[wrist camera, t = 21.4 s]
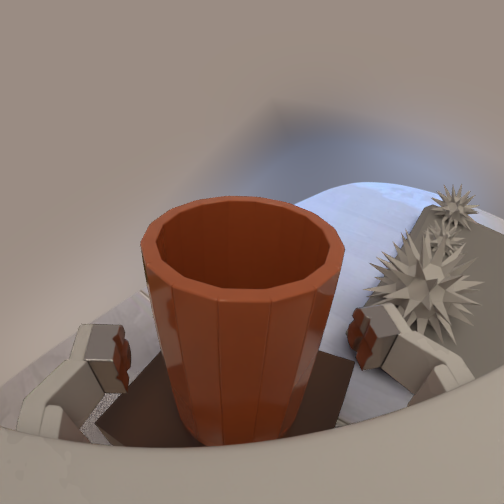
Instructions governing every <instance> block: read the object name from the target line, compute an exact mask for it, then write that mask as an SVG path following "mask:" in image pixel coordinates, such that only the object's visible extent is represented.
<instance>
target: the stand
mask: <svg viewBox="0 0 504 504" xmlns="http://www.w3.org/2000/svg"><path fill="white" fill-rule="evenodd" d="M354 364H355V362H354V361H351V360H348V359H345V358H341V357H338V356H335V355H332V354H329V353H325V352H322V351H319V350H318V353H317V356H316V359H315V362H314V365H313V368H312V371H311V374H310V377H309V380H308V383H307V386H306V389H305V392H304V395H303V398H302V401H301V404H300V406H299V409H298V412H297V415H296V417H295V420H294V422H293V424H292V426H291V427H290V429H289V430H288V432H287V433H286V434H285V435H284V436H283V437H282V438H288V437H293V436H299V435H304V434H310V433H315V432H319V431H324V430H328V429H333V428H334V427H335V424H336V422H337V419H338V416H339V413H340V410H341V407H342V404H343V401H344V398H345V395H346V391H347V388H348V385H349V382H350V378H351V375H352V371H353V368H354ZM95 425H96V426H97V427H98V428H99V430H100V431H101V432H102V434H103V435H104V436H105V437H106V439H107V440H108V441H109V442H110V443H111V445H113V446H125V447H149V448H184V447H208V446H206V445H204V444H202V443H201V442H199V441H198V440H196V439H195V438H194V437H193V436H192V435H191V434H190V433H189V432H188V431H187V430H186V428H185V427H184V425H183V423H182V421H181V419H180V417H179V413H178V410H177V407H176V404H175V401H174V398H173V395H172V391H171V387H170V384H169V380H168V376H167V373H166V369H165V365H164V361H163V357H162V353H161V351H160V352H159V354H158V355H157V356H156V357H155V358H154V359H153V360H152V361H151V362H150V363H149V364H148V366H147V367H146V368H145V369H144V370H143V371H142V372H141V373H140V374H139V375H138V376H137V378H136V379H135V380H134V381H133V382H132V383H131V384H130V385H129V386H128V393H122V394H121V395H120V396H119V397H118V398H117V399H116V400H115V402H114V403H113V404H112V405H111V406H110V407H109V408H108V409H107V410H106V411H105V412H104V414H103V415H102V416H101V417H100V418H99V419H98V420H97V421H96V422H95ZM282 438H281V439H282Z"/></svg>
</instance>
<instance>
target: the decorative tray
mask: <svg viewBox="0 0 504 504" xmlns="http://www.w3.org/2000/svg"><path fill="white" fill-rule="evenodd" d="M444 188H445V191H446V195H447V197H446V196H444V195H442V194H441V193H440V192H439V191H438V192H439V193H438V194H439V196H440V197H441V198H442V200H443V201H444V202H443V201H440V200H438V199H435V198H433V200H434V201H435V202H437V203H438V204H439V205H440V206H442V207H438V206H435V205H430V206H428V207H425V208H424V209H423V211H422V213H421V215H420V216H419V218H418V220H417V222H416V224H415V225H414V227H413V229H412V231H411V232H410V234H408V232H407V231H406V234H407V239H406V240H405V238H404V236H403V235H402V238H403V242H404V244H403V246H402V248H401V249H400V248H399V247H398V246H397V245H396V244H395V243H394V242H393V244H394V246H395V248H396V250H397V253H398V254H397V256H396V258H393V257H391V256H389V255H387V254H386V253H384V252H382V251H381V252H382V253H383V254H384V255H385V256H386V257H387V258H388V260H389V261H390V262H391V263H389V262H387V261H385V260H382V259H380V258H378V259H379V260H380V261H381V262H382V263H383V264H384V265H385V266H386V267H387V268H388V269H385V268H382V267H379V266H376V265H373V264H371V263H370V264H371V265H372V266H374V267H375V268H376V269H378V270H379V271H380V272H382V273H383V274H384V277H383V278H381V277H375V278H377V279H379V280H381V281H380V283H379V284H378V286H377V287H374V288H368V289H363V290H369V291H374V292H373V294H372V295H371V296H367V297H370V298H369V300H368V301H367V302H366V304H365V305H364V307H367V306H374V305H380V304H386V303H392V304H394V305H395V307H396V308H397V310H398V311H399V313H400V314H401V315H402V317H403V318H404V320H405V321H406V323H407V324H408V326H409V327H410V329H411V330H412V331H417V332H419V333H420V334H422V335H424V336H426V337H427V338H429V339H431V340H433V341H434V342H436V343H438V344H440V345H441V346H443V347H445V348H446V349H448V350H450V351H452V352H453V353H455V354H457V355H459V356H460V357H461V358H462V359H463V361H464V362H465V364H466V365H467V367H468V368H469V370H470V371H471V373H472V374H473V376H474V377H475V379H476V378H478V377H481V376H483V375H485V374H487V373H489V372H491V371H492V370H494V369H496V368H498V367H500V366H502V365H504V235H503V234H501V233H499V232H496V231H494V230H492V229H490V228H488V227H485V226H483V225H481V224H479V223H477V222H475V221H474V220H473V219H472V218H471V217H470V216H468V215H467V214H477V212H478V211H473V210H474V209H471V208H474V207H477V205H467V204H468V203H469V202H470V200H471V199H472V198H473V197H474V196H472V197H471V198H469V199H467V198H468V197H467V196H468V194H469V193H470V192H469V191H468V192H467V193H466V194H465V195H464V196H463V197H462V198H461V189H462V185H461V186H460V189H459V191H458V194H457V196H456V194H455V190H454V187H453V188H452V197H451V196H450V193H449V192H448V190H447V188H446V187H445V185H444ZM431 199H432V198H431ZM478 206H479V205H478ZM405 230H406V229H405ZM401 234H402V233H401ZM376 258H377V257H376ZM347 331H348V329H347ZM347 331H346V335H347Z"/></svg>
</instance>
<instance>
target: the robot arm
mask: <svg viewBox="0 0 504 504" xmlns="http://www.w3.org/2000/svg"><path fill="white" fill-rule="evenodd" d="M352 316H353V318H354V321H353V322H352V323H351V324H349V327H348V331H347V338H348V342H349V345H350V347H351V349H353V350H354V351H356V352H357V354H356V359H357V361H358V364H359V366H360V368H361V370H362V371H363V370H368V369H373V368H378V367H381V368H382V369H383V370H384V371H385V372H387V373H388V374H389V375H390V376H392V377H393V378H394V379H395V380H397V381H398V382H399V383H400V384H402V385H403V386H404V387H405V388H407V389H408V390H409V391H410V392H412V393H413V394H414V396H413V398H412V399H411V400H410V401H409V403H408V405H407V406H408V407H406V408H403V409H400V410H397V411H394V412H391V413H388V414H385V415H381V416H378V417H375V418H371V419H368V420H364V421H361V422H357V423H353V424H349V425H345V426H341V427H337V428H333V429H328V430H324V431H319V432H315V433H310V434H304V435H299V436H293V437H288V438H282V439H275V440H268V441H261V442H253V443H244V444H234V445H223V446H208V447H184V448H149V447H125V446H111V445H99V444H90V441H89V440H88V439H87V438H86V437H85V435H84V434H83V433H82V432H81V431H80V430H79V429H80V428H81V426H82V425H83V424H84V422H85V421H86V419H87V418H88V417H89V415H90V414H91V413H92V411H93V410H94V409H95V407H96V406H97V405H98V403H99V402H100V401H101V399H102V398H103V396H104V395H105V394H104V393H128V384H129V376H128V373H127V370H128V369H129V368H130V367H131V351H130V346H129V342H128V341H127V340H126V339H124V338H125V330H124V327H123V326H122V325H108V324H81V325H80V326H79V329H78V331H77V335H76V338H75V341H74V344H73V348H72V351H71V355H70V358H69V360H65V361H64V362H62V363H61V364H60V365H59V366H58V367H57V368H56V369H55V370H54V371H53V372H52V373H51V374H50V375H49V376H47V377H46V378H45V379H44V380H43V381H42V382H41V383H40V384H39V385H38V386H37V387H36V388H35V389H34V390H33V391H32V392H31V393H30V394H29V395H28V396H27V397H26V398H24V400H23V403H22V407H21V410H20V414H19V418H18V422H17V426H16V430H12V429H8V428H4V427H0V504H504V365H502V366H500V367H498V368H496V369H494V370H492V371H491V372H489V373H487V374H485V375H483V376H481V377H478V378H476V379H475V377H474V376H473V374H472V373H471V371H470V370H469V368H468V367H467V365H466V364H465V362H464V361H463V359H462V358H461V357H460V356H459V355H457V354H455V353H453V352H452V351H450V350H448V349H446V348H445V347H443V346H441V345H440V344H438V343H436V342H434V341H433V340H431V339H429V338H427V337H426V336H424V335H422V334H420V333H419V332H417V331H412V330H411V329H410V327H409V326H408V324H407V323H406V321H405V320H404V318H403V317H402V315H401V314H400V313H399V311H398V310H397V308H396V307H395V305H394V304H392V303H386V304H380V305H374V306H367V307H360V308H356V309H355V310H354V313H353V315H352Z"/></svg>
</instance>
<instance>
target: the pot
mask: <svg viewBox="0 0 504 504" xmlns="http://www.w3.org/2000/svg"><path fill="white" fill-rule="evenodd" d="M140 246H141V252H142V258H143V265H144V270H145V276H146V282H147V287H148V293H149V298H150V303H151V308H152V313H153V318H154V322H155V327H156V331H157V336H158V340H159V344H160V349H161V353H162V357H163V361H164V365H165V369H166V373H167V376H168V380H169V384H170V387H171V391H172V395H173V398H174V401H175V404H176V407H177V410H178V413H179V417H180V419H181V421H182V423H183V425H184V427H185V428H186V430H187V431H188V432H189V433H190V434H191V435H192V436H193V437H194V438H195V439H196V440H198V441H199V442H201V443H202V444H204V445H206V446H223V445H234V444H244V443H253V442H261V441H268V440H275V439H281V438H282V437H283V436H284V435H285V434H286V433H287V432H288V430H289V429H290V427H291V426H292V424H293V422H294V420H295V417H296V415H297V412H298V409H299V406H300V404H301V401H302V398H303V395H304V392H305V389H306V386H307V383H308V380H309V377H310V374H311V371H312V368H313V365H314V362H315V359H316V356H317V353H318V349H319V346H320V343H321V340H322V336H323V333H324V329H325V326H326V323H327V319H328V316H329V312H330V308H331V305H332V301H333V298H334V294H335V290H336V286H337V282H338V278H339V275H340V271H341V266H342V262H343V257H344V252H345V247H344V245H343V243H342V241H341V239H340V237H339V235H338V234H337V232H336V230H335V229H334V227H332V226H331V225H330V224H328V223H327V222H326V221H324V220H323V219H322V218H320V217H319V216H318V215H316V214H314V213H312V212H310V211H308V210H305V209H303V208H300V207H298V206H295V205H293V204H290V203H286V202H282V201H277V200H271V199H267V198H261V197H247V196H224V197H215V198H209V199H201V200H196V201H193V202H190V203H187V204H184V205H181V206H178V207H175V208H172V209H171V210H169V211H167V212H166V213H164V214H163V215H161V216H160V217H159V218H157V219H156V220H154V221H153V222H152V223H151V224H150V225H149V227H148V228H147V230H146V232H145V234H144V236H143V238H142V240H141V244H140Z"/></svg>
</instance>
